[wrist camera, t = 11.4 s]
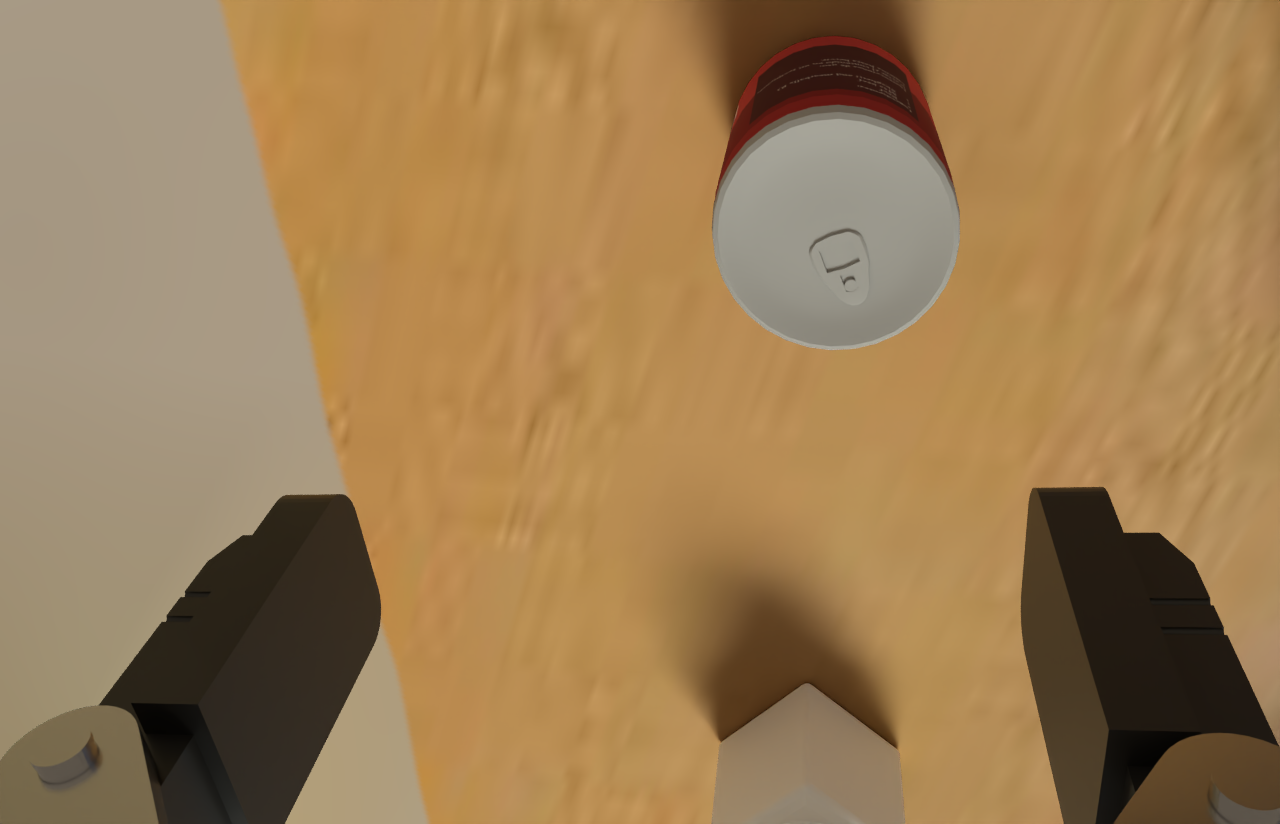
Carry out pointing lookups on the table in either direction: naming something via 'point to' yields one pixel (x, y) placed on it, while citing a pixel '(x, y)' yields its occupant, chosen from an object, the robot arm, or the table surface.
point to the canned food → (835, 197)
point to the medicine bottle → (807, 768)
